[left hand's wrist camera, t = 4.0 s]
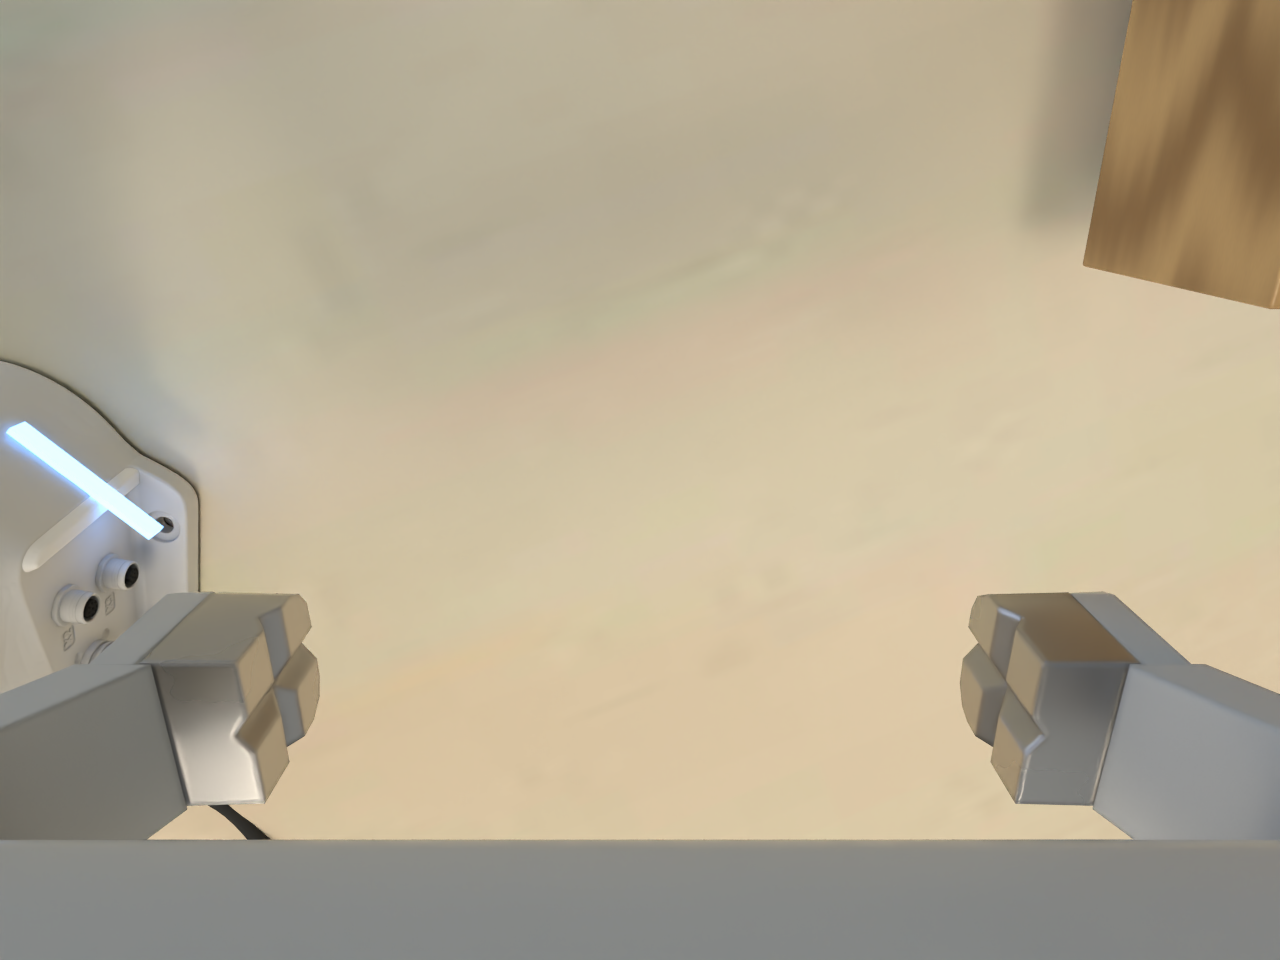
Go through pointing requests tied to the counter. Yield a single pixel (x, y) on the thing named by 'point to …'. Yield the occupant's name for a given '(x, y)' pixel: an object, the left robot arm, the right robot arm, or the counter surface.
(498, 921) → the left robot arm
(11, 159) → the counter surface
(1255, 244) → the bar
